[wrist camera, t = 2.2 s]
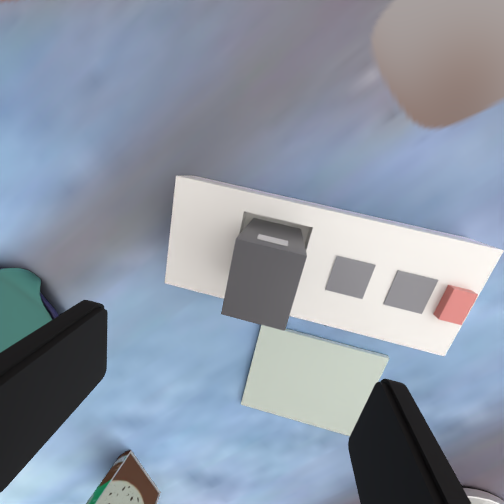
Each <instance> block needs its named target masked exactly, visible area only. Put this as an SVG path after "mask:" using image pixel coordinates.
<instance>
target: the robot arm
mask: <svg viewBox="0 0 504 504" xmlns="http://www.w3.org/2000/svg"><path fill="white" fill-rule="evenodd" d="M106 367H107V310H105V309H104V306H103V304H100V303H96V302H93V301H89V300H83V301H81V302H80V303H78V304H76V305H75V306H73V307H72V308H70V309H69V310H67V311H65V312H64V313H62V314H61V315H59V316H57V317H56V318H54V319H53V320H51V321H50V322H48V323H46V324H45V325H43V326H42V327H40V328H39V329H37V330H35V331H34V332H32V333H31V334H29V335H27V336H26V337H24V338H23V339H21V340H20V341H18V342H16V343H15V344H13V345H12V346H10V347H8V348H7V349H5V350H4V351H2V352H1V353H0V492H2V491H3V490H4V489H5V488H6V487H7V486H8V485H9V484H10V482H11V481H12V480H13V479H14V478H15V477H16V476H17V475H18V473H19V472H20V471H21V470H22V469H23V468H24V467H25V466H26V464H27V463H28V462H29V461H30V460H31V459H32V458H33V457H34V455H35V454H36V453H37V452H38V451H39V450H40V449H41V448H42V446H43V445H44V444H45V443H46V442H47V441H48V440H49V439H50V437H51V436H52V435H53V434H54V433H55V432H56V431H57V430H58V428H59V427H60V426H61V425H62V424H63V423H64V422H65V421H66V419H67V418H68V417H69V416H70V415H71V414H72V413H73V412H74V410H75V409H76V408H77V407H78V406H79V405H80V404H81V403H82V401H83V400H84V399H85V398H86V397H87V396H88V395H89V393H90V392H91V391H92V390H93V389H94V388H95V387H96V386H97V384H98V383H99V382H100V381H101V380H102V379H103V377H104V375H105V373H106ZM348 446H349V453H350V458H351V462H352V467H353V471H354V476H355V480H356V485H357V489H358V494H359V498H360V503H361V504H504V501H503V500H502V499H500V498H499V497H497V496H494V495H492V494H490V493H488V492H484V491H481V490H477V489H471V488H463V487H462V486H461V484H460V482H459V480H458V478H457V477H456V475H455V473H454V471H453V469H452V468H451V466H450V464H449V462H448V460H447V459H446V457H445V455H444V453H443V451H442V450H441V448H440V446H439V444H438V442H437V441H436V439H435V437H434V435H433V433H432V432H431V430H430V428H429V426H428V424H427V423H426V421H425V419H424V417H423V415H422V414H421V412H420V410H419V408H418V407H417V405H416V403H415V401H414V399H413V398H412V396H411V394H410V392H409V390H408V389H407V387H406V386H405V385H404V384H403V383H400V382H396V381H392V380H388V379H383V380H382V381H381V382H377V383H376V384H375V385H374V387H373V390H372V392H371V394H370V396H369V398H368V400H367V402H366V404H365V406H364V408H363V410H362V412H361V414H360V416H359V419H358V421H357V423H356V425H355V427H354V429H353V431H352V433H351V435H350V437H349V443H348Z"/></svg>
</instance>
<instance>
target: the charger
mask: <svg viewBox="0 0 504 504" xmlns="http://www.w3.org/2000/svg"><path fill="white" fill-rule="evenodd" d="M306 258H307V253H306V249H305V244H304V240H303V235H302V231H301V229H300V228H296V227H291V226H287V225H283V224H279V223H274V222H270V221H266V220H262V219H257V218H253V219H252V220H251V221H250V222H249V224H248V225H247V226H246V227H245V228H244V230H243V231H242V232H241V233H240V234H239V236H238V237H237V238H236V240H235V246H234V251H233V256H232V261H231V266H230V271H229V276H228V281H227V286H226V292H225V297H224V302H223V307H222V312H221V314H223V315H226V316H230V317H234V318H238V319H241V320H245V321H249V322H253V323H257V324H260V325H264V326H268V327H272V328H275V329H279V330H283V331H285V329H286V325H287V322H288V319H289V315H290V312H291V308H292V305H293V302H294V298H295V295H296V292H297V288H298V285H299V282H300V278H301V275H302V271H303V268H304V265H305V261H306Z"/></svg>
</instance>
